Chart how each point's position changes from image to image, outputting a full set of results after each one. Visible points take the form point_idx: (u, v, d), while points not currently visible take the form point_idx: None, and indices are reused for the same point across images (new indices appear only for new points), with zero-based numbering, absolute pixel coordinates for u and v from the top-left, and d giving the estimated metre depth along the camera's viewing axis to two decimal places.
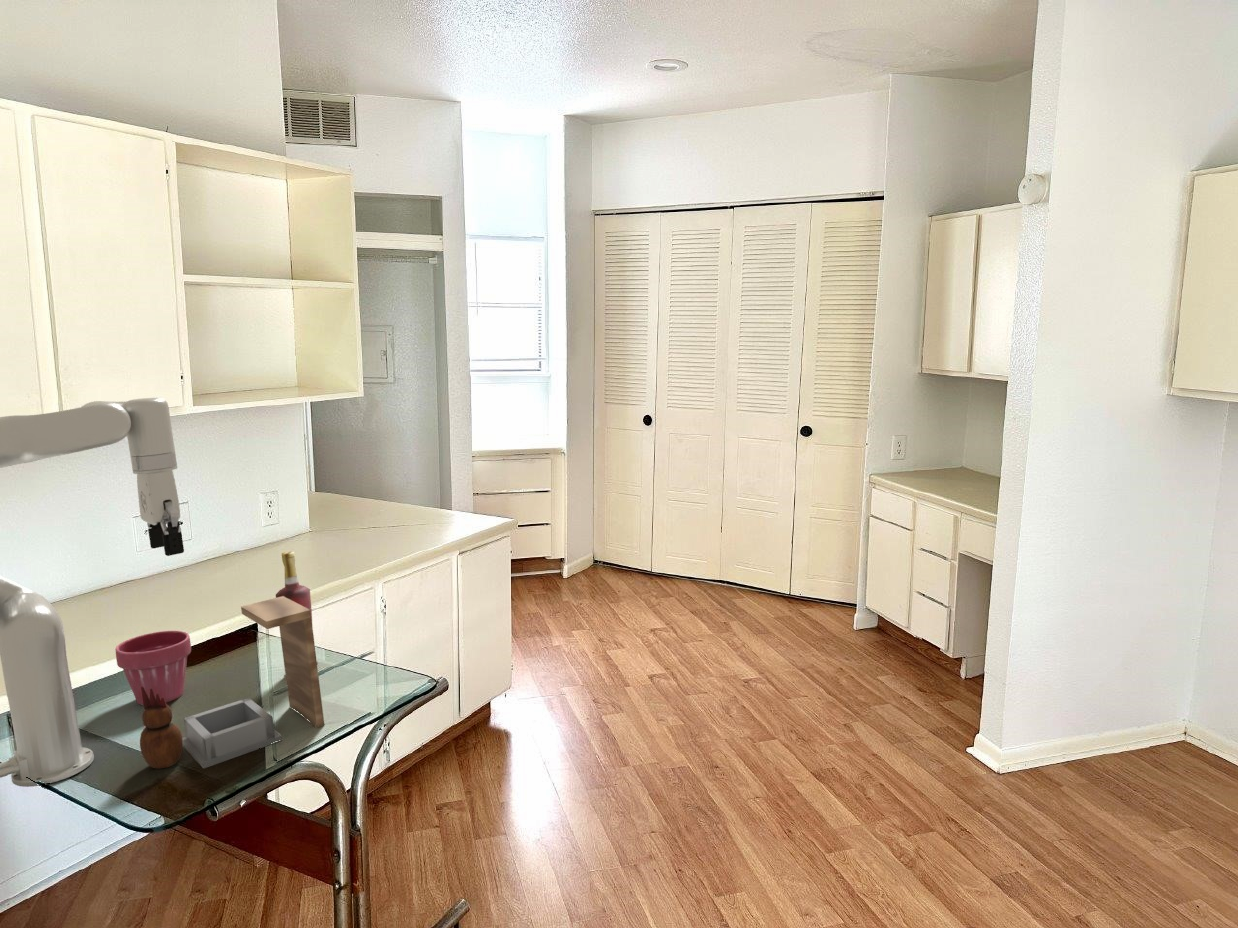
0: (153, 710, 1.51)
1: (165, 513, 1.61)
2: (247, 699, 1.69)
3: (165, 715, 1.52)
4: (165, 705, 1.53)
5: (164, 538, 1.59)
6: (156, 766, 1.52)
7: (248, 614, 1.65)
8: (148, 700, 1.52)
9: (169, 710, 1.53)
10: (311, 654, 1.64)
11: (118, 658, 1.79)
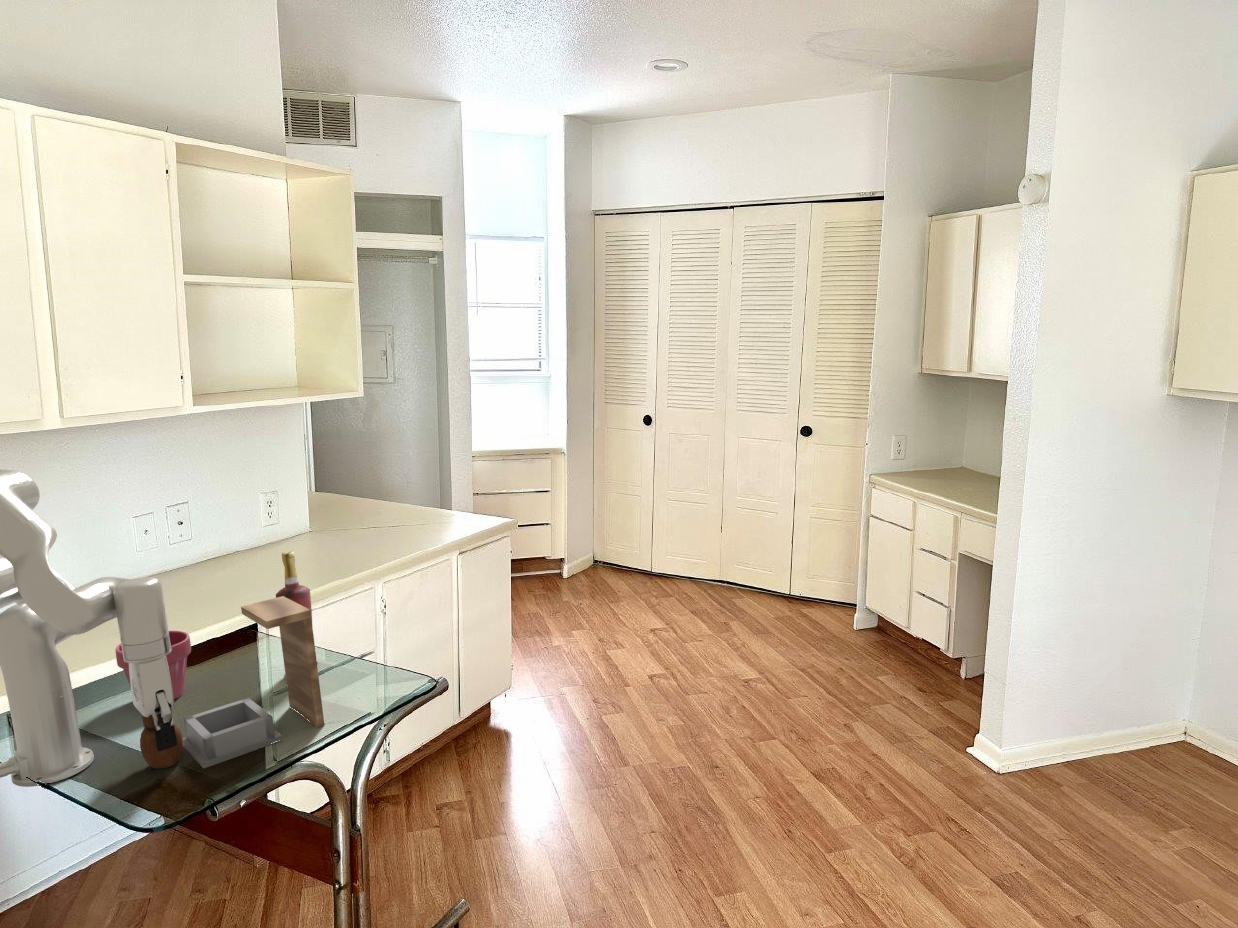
0: None
1: (158, 702, 1.50)
2: (247, 699, 1.69)
3: None
4: None
5: (155, 733, 1.49)
6: (156, 766, 1.52)
7: (248, 614, 1.65)
8: None
9: None
10: (311, 654, 1.64)
11: (118, 658, 1.79)
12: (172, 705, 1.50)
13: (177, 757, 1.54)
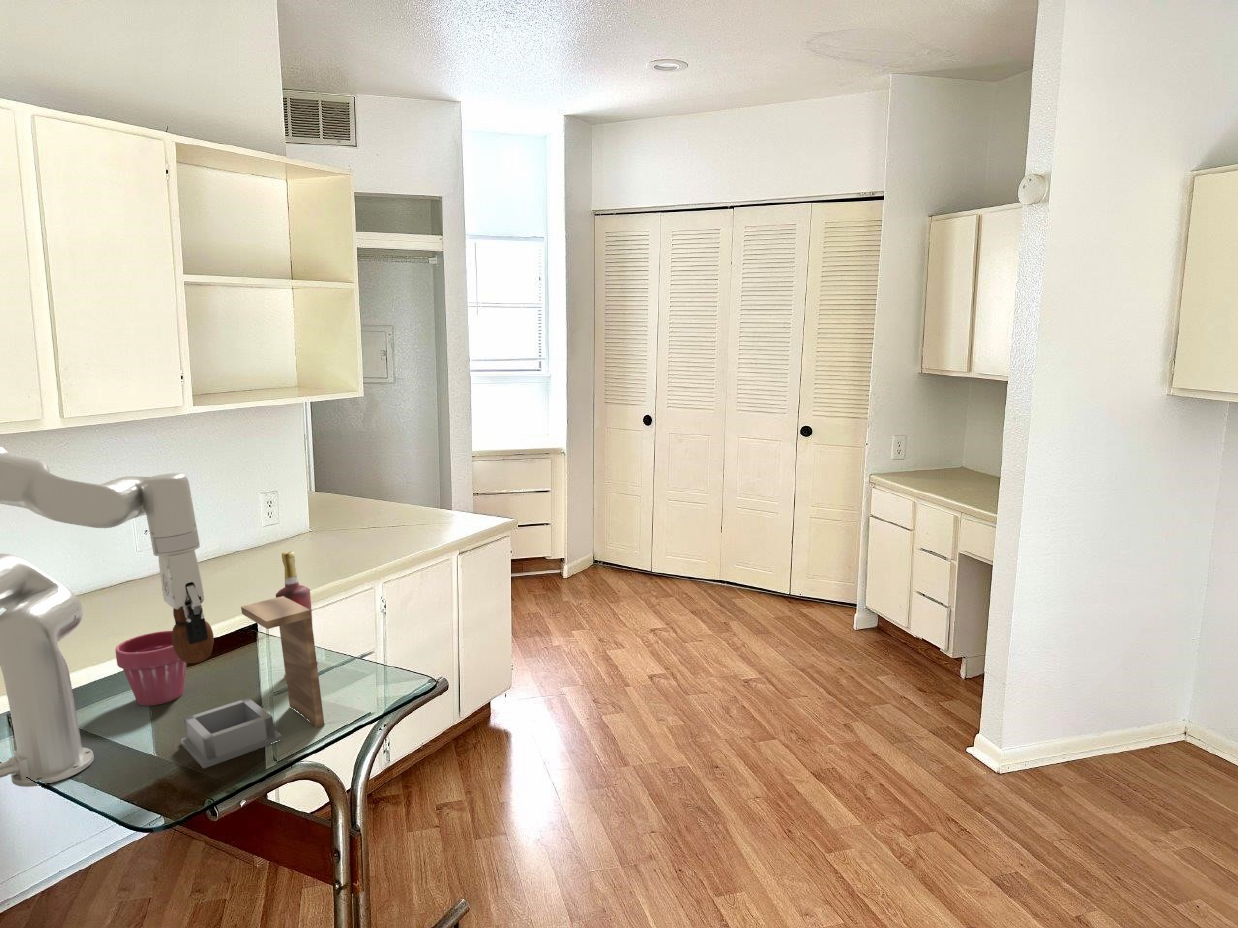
0: None
1: (188, 596, 1.51)
2: (247, 699, 1.69)
3: None
4: None
5: (187, 626, 1.51)
6: (188, 660, 1.53)
7: (248, 614, 1.65)
8: None
9: None
10: (311, 654, 1.64)
11: (118, 658, 1.79)
12: (202, 598, 1.52)
13: (208, 652, 1.55)
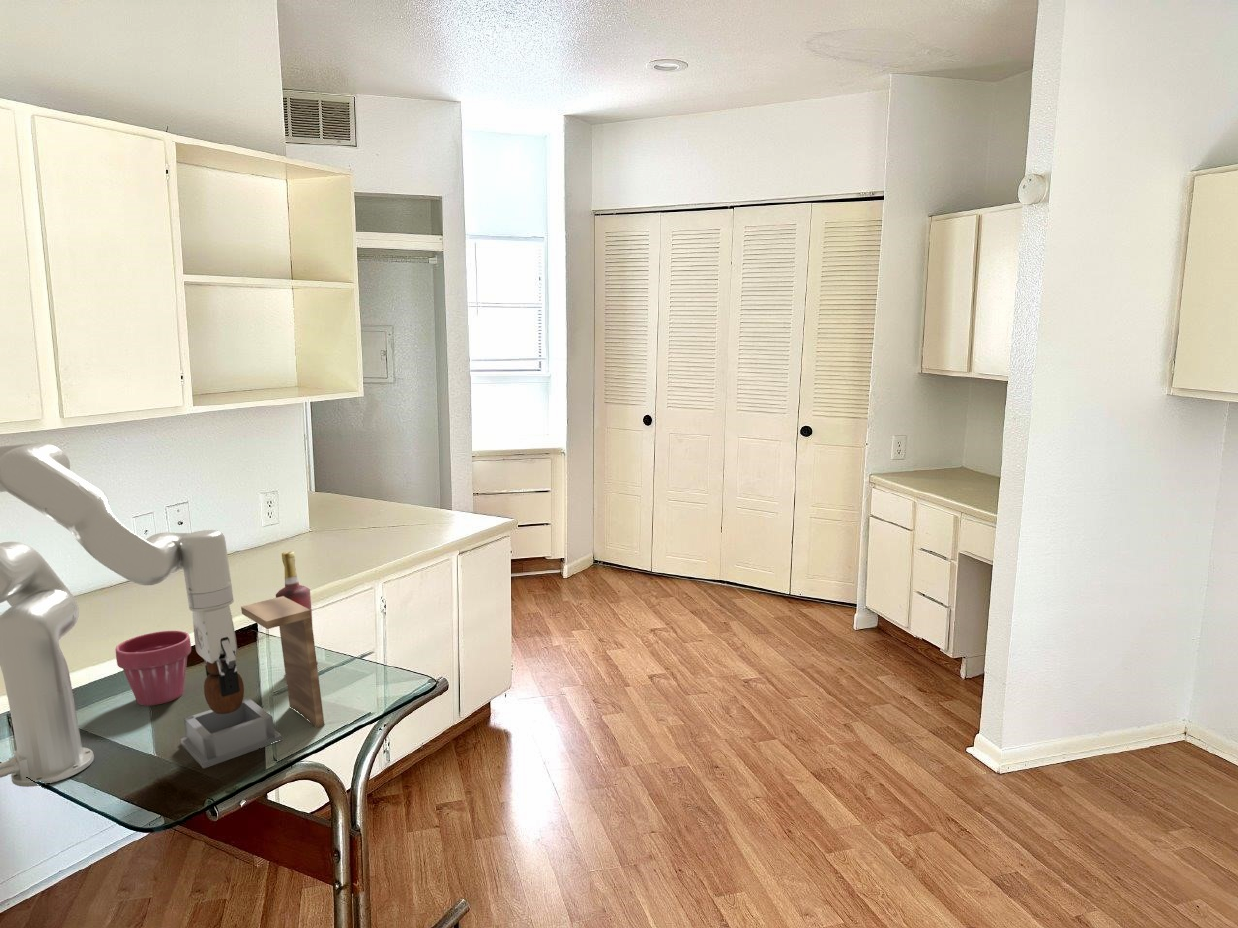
0: None
1: (222, 650, 1.56)
2: (247, 699, 1.69)
3: None
4: None
5: (220, 679, 1.55)
6: (220, 711, 1.58)
7: (248, 614, 1.65)
8: None
9: None
10: (311, 654, 1.64)
11: (118, 658, 1.79)
12: (235, 652, 1.56)
13: (239, 703, 1.60)
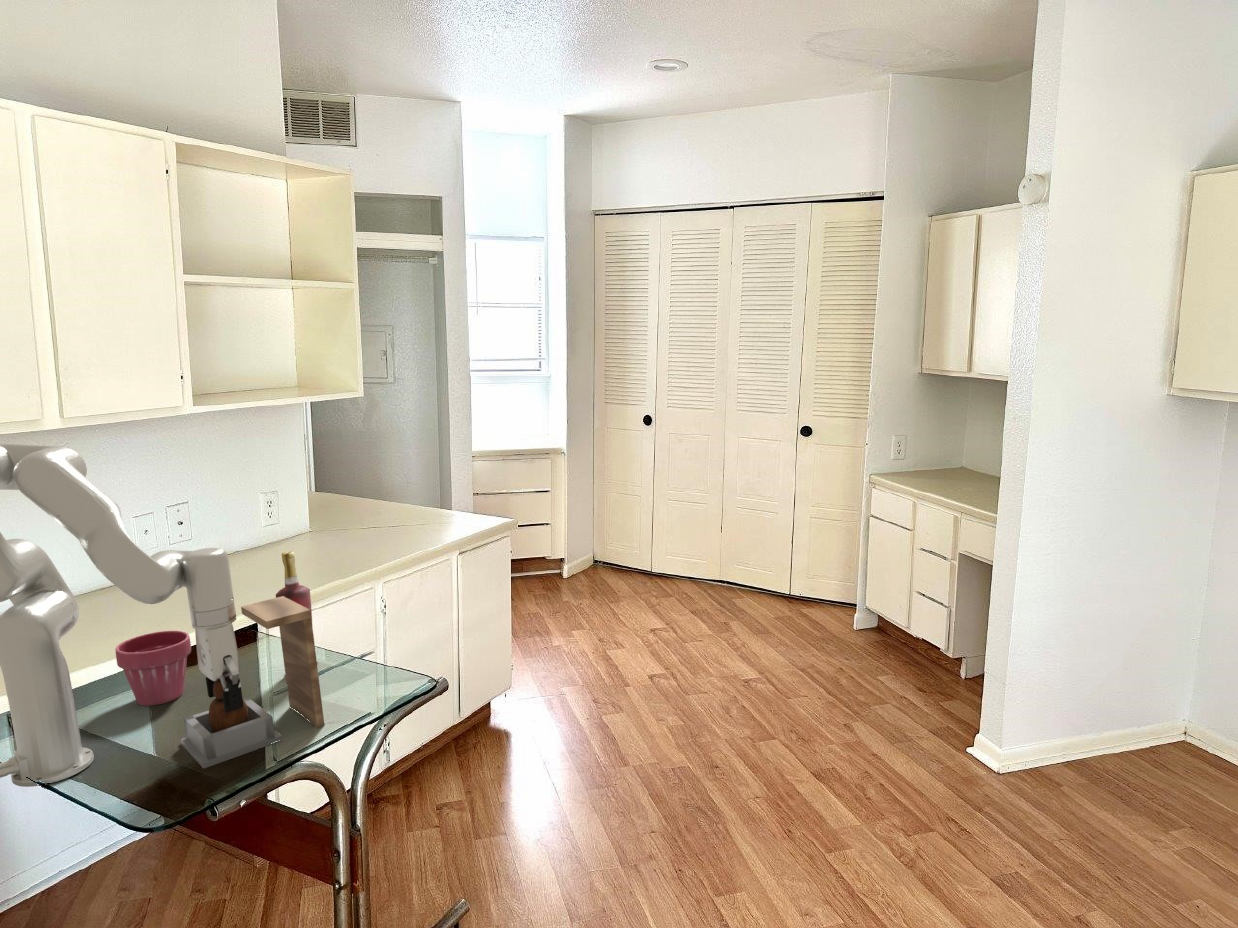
0: None
1: (224, 667, 1.57)
2: (247, 699, 1.69)
3: None
4: None
5: (224, 695, 1.55)
6: None
7: (248, 614, 1.65)
8: None
9: None
10: (311, 654, 1.64)
11: (118, 658, 1.79)
12: (238, 670, 1.57)
13: None
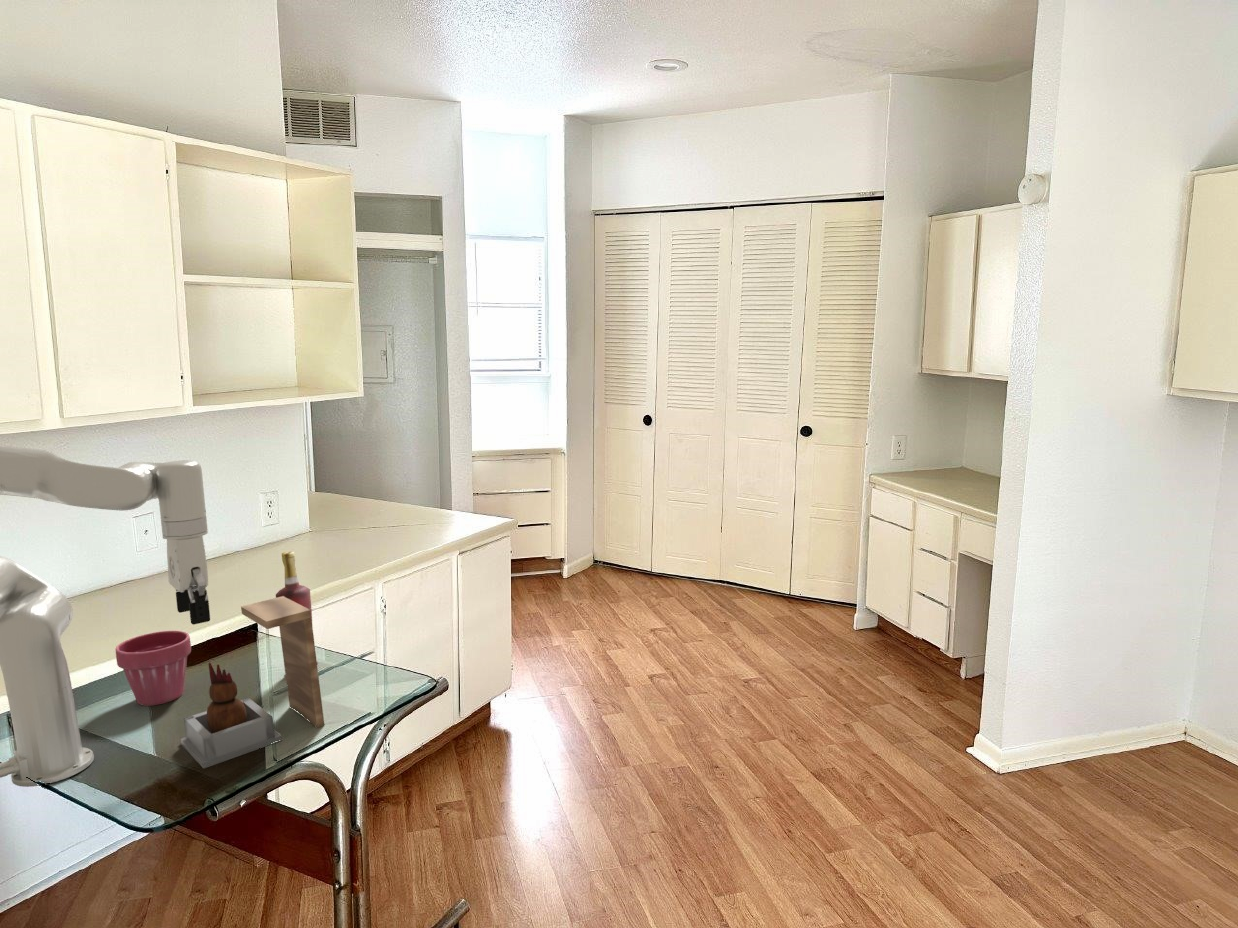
0: (219, 685, 1.58)
1: (193, 580, 1.56)
2: (247, 699, 1.69)
3: (231, 690, 1.59)
4: (231, 680, 1.60)
5: (190, 606, 1.55)
6: None
7: (248, 614, 1.65)
8: (215, 675, 1.59)
9: (234, 685, 1.60)
10: (311, 654, 1.64)
11: (118, 658, 1.79)
12: (206, 583, 1.56)
13: None
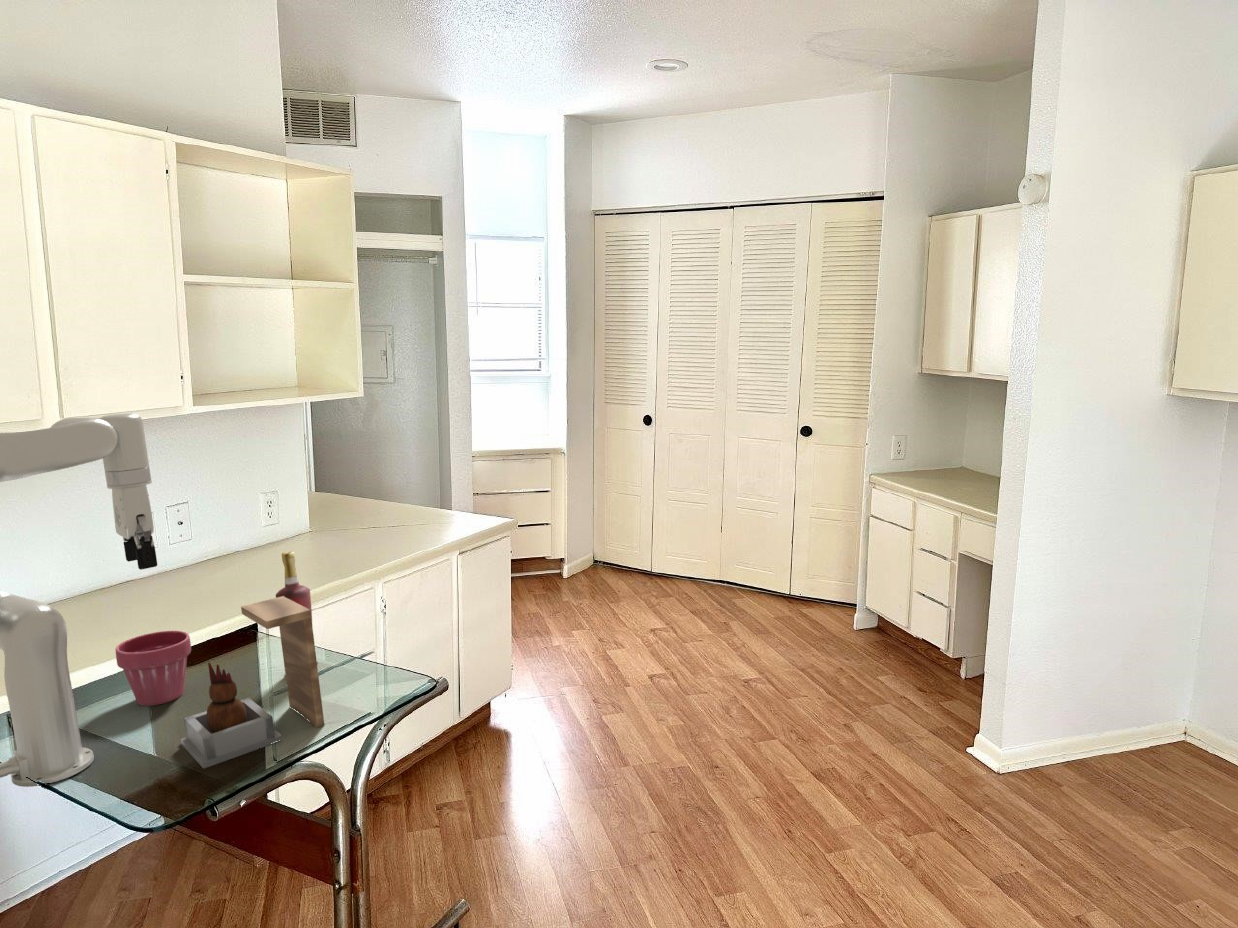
0: (219, 685, 1.58)
1: (139, 527, 1.63)
2: (247, 699, 1.69)
3: (231, 690, 1.59)
4: (231, 680, 1.60)
5: (137, 552, 1.61)
6: None
7: (248, 614, 1.65)
8: (214, 675, 1.59)
9: (234, 685, 1.60)
10: (311, 654, 1.64)
11: (118, 658, 1.79)
12: (152, 530, 1.63)
13: None
